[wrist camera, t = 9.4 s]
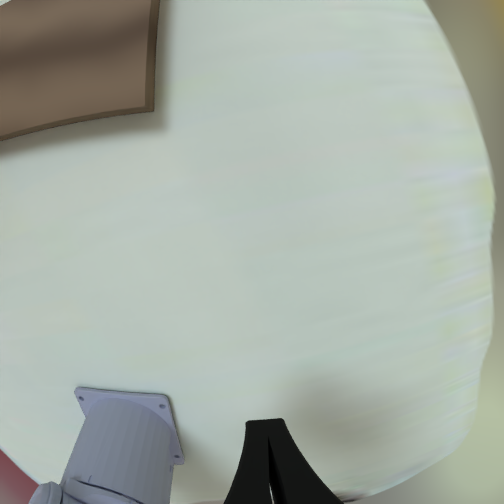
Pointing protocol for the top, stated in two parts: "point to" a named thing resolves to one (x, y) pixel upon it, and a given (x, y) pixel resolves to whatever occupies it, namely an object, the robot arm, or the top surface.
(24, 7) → the plank
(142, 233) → the top surface
